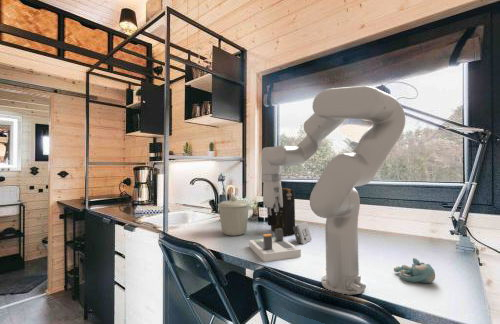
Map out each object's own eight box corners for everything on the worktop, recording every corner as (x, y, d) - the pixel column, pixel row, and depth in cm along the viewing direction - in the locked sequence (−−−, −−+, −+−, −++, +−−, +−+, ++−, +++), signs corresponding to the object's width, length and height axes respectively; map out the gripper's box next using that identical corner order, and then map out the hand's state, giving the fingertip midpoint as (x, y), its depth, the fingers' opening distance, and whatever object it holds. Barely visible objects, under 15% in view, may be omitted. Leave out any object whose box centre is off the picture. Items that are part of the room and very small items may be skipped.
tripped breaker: (272, 248, 107) (271, 235, 107) (265, 249, 106) (265, 235, 106) (270, 246, 109) (270, 233, 109) (263, 247, 108) (263, 234, 108)
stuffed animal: (400, 253, 93) (438, 255, 84) (404, 274, 92) (443, 279, 82) (384, 259, 87) (423, 263, 78) (389, 282, 86) (429, 288, 76)
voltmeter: (269, 230, 150) (268, 187, 151) (281, 228, 154) (281, 186, 155) (283, 237, 136) (282, 189, 137) (297, 235, 140) (296, 188, 140)
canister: (239, 239, 133) (238, 198, 133) (211, 235, 142) (210, 196, 142) (256, 231, 149) (255, 194, 149) (230, 228, 158) (229, 193, 158)
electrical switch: (303, 245, 122) (301, 225, 123) (293, 244, 126) (291, 224, 126) (312, 240, 130) (310, 221, 130) (302, 239, 133) (300, 221, 134)
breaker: (283, 240, 118) (282, 229, 118) (277, 240, 117) (276, 229, 117) (281, 239, 120) (281, 228, 120) (275, 239, 119) (275, 228, 119)
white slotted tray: (300, 256, 106) (300, 249, 106) (264, 261, 102) (263, 253, 102) (281, 243, 125) (280, 236, 125) (249, 246, 121) (249, 239, 121)
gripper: (288, 179, 96) (289, 228, 96) (273, 177, 111) (273, 220, 110) (269, 179, 94) (270, 230, 94) (256, 177, 108) (257, 221, 108)
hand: (272, 224), depth 102 cm, fingers closed
